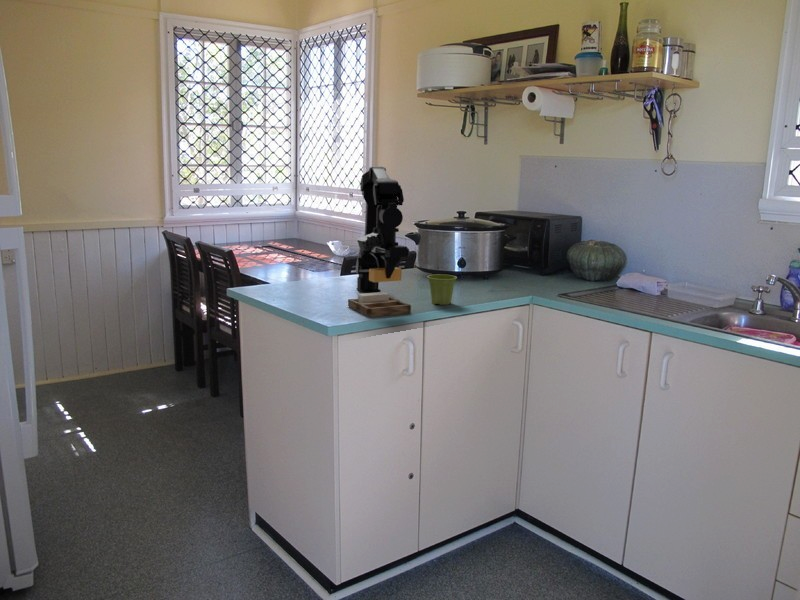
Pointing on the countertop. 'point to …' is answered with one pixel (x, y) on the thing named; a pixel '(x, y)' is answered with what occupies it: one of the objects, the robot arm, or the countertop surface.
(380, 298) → the off-white square pillar
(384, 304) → the slot board
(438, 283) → the plant pot
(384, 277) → the tall amber prism
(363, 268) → the robot arm
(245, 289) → the countertop surface
